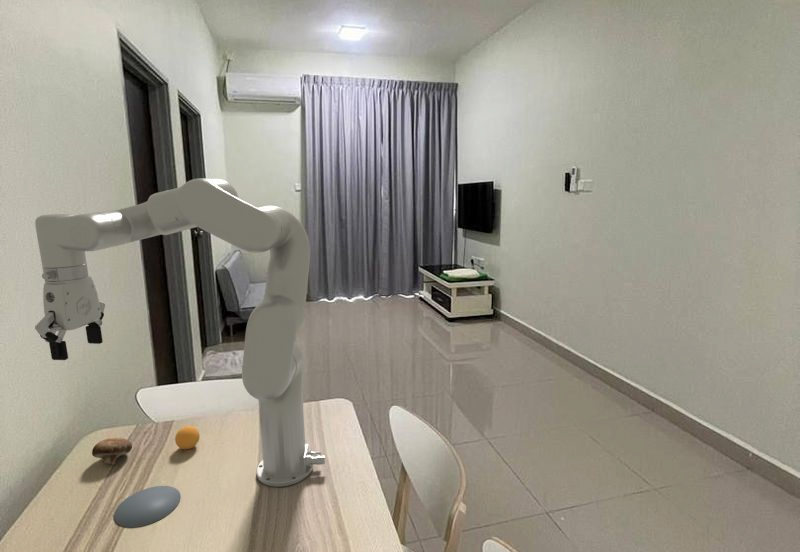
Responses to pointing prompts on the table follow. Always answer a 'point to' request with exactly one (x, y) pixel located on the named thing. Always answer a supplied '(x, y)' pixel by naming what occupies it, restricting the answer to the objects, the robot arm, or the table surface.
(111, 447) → the mushroom
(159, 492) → the disc
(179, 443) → the ball
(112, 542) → the table surface
